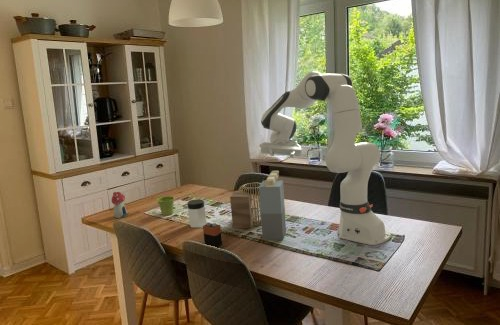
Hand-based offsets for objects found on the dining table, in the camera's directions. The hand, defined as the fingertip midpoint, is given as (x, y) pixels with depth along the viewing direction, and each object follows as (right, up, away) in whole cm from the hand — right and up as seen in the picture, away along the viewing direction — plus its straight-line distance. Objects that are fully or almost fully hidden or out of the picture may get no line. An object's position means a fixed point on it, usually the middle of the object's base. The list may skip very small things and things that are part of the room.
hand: (282, 155), depth 185 cm
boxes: (-11, -35, -4) cm, 37 cm away
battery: (-31, -39, -17) cm, 53 cm away
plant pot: (-61, -32, +29) cm, 74 cm away
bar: (-5, -12, -13) cm, 18 cm away
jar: (-41, -35, +8) cm, 55 cm away
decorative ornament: (-87, -34, +30) cm, 98 cm away
